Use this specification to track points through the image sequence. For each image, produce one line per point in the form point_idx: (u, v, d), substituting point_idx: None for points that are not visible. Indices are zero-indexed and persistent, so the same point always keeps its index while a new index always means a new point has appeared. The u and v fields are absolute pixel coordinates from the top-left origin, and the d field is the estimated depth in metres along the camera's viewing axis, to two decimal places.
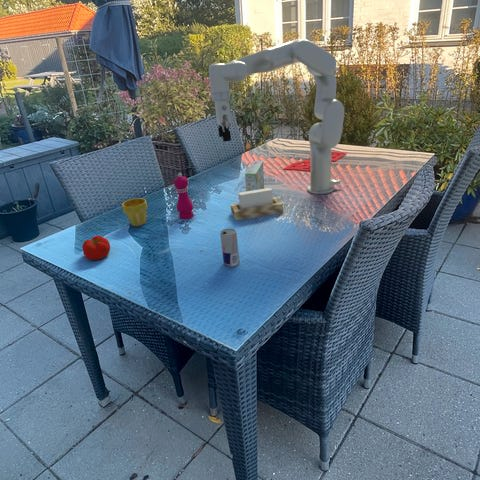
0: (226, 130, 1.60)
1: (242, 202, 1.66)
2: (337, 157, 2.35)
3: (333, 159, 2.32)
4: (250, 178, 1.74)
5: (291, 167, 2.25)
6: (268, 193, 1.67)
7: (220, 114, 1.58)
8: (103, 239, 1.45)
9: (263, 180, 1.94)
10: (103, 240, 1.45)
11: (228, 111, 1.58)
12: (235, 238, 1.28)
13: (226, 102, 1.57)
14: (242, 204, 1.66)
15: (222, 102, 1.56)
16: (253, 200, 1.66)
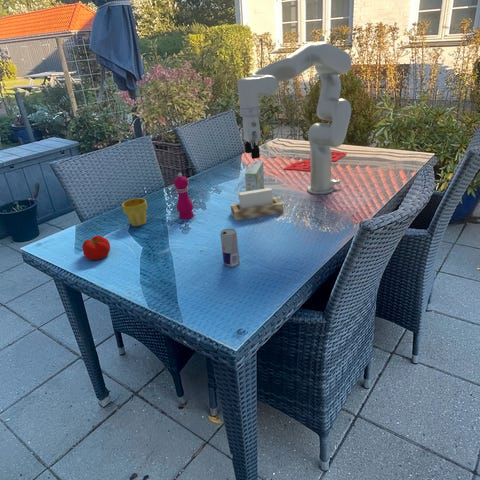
0: (255, 147, 1.52)
1: (242, 202, 1.66)
2: (337, 157, 2.35)
3: (333, 159, 2.32)
4: (250, 178, 1.74)
5: (291, 167, 2.25)
6: (268, 193, 1.67)
7: (249, 130, 1.50)
8: (103, 239, 1.45)
9: (263, 180, 1.94)
10: (103, 240, 1.45)
11: (258, 127, 1.50)
12: (235, 238, 1.28)
13: (256, 118, 1.49)
14: (242, 204, 1.66)
15: (252, 118, 1.49)
16: (253, 200, 1.66)
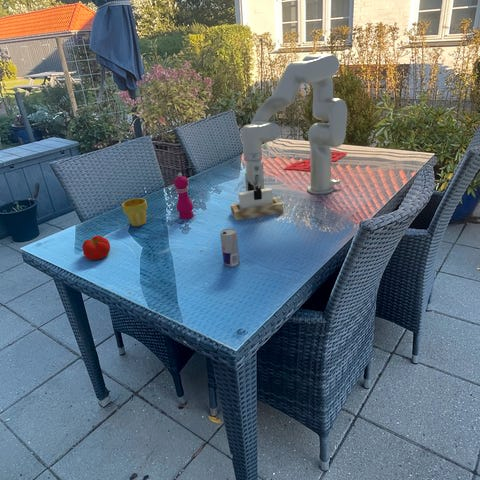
0: (258, 190, 1.60)
1: (242, 202, 1.66)
2: (337, 157, 2.35)
3: (333, 159, 2.32)
4: None
5: (291, 167, 2.24)
6: (268, 193, 1.67)
7: (252, 174, 1.58)
8: (103, 239, 1.45)
9: (263, 180, 1.94)
10: (103, 240, 1.45)
11: (260, 171, 1.58)
12: (235, 238, 1.28)
13: (259, 163, 1.57)
14: (242, 204, 1.66)
15: (255, 163, 1.57)
16: (253, 200, 1.66)
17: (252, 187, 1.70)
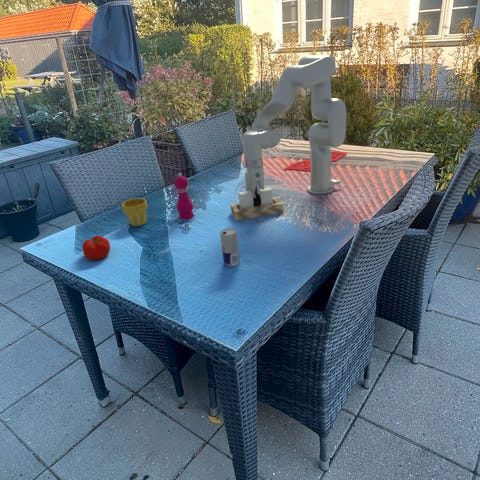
0: (257, 196, 1.64)
1: (242, 202, 1.66)
2: (337, 157, 2.35)
3: (333, 159, 2.32)
4: None
5: (291, 167, 2.24)
6: (268, 193, 1.67)
7: (253, 181, 1.59)
8: (103, 239, 1.45)
9: None
10: (103, 240, 1.45)
11: (261, 177, 1.59)
12: (235, 238, 1.28)
13: (259, 169, 1.58)
14: (242, 204, 1.66)
15: (255, 169, 1.58)
16: None
17: None
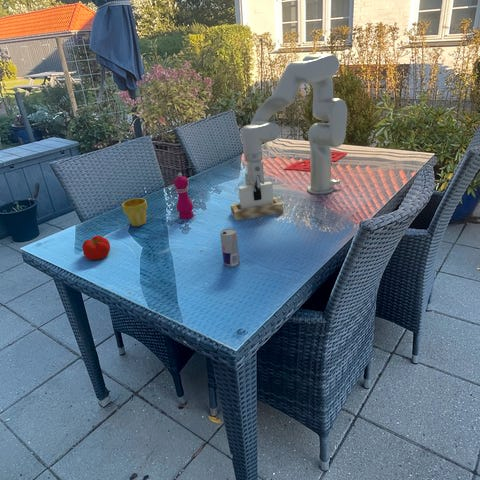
0: (257, 190, 1.63)
1: (242, 196, 1.65)
2: (337, 157, 2.35)
3: (333, 159, 2.32)
4: None
5: (291, 167, 2.24)
6: (268, 187, 1.66)
7: (253, 174, 1.58)
8: (103, 239, 1.45)
9: None
10: (103, 240, 1.45)
11: (261, 171, 1.58)
12: (235, 238, 1.28)
13: (259, 163, 1.57)
14: (242, 198, 1.65)
15: (255, 163, 1.57)
16: (253, 194, 1.65)
17: None
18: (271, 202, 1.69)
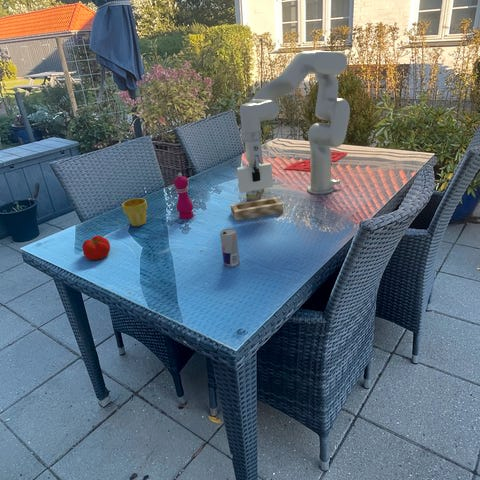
0: (256, 171, 1.59)
1: (240, 177, 1.61)
2: (338, 157, 2.35)
3: (334, 159, 2.32)
4: None
5: (292, 167, 2.24)
6: (267, 167, 1.62)
7: (252, 154, 1.55)
8: (103, 239, 1.45)
9: None
10: (103, 240, 1.45)
11: (260, 151, 1.55)
12: (235, 238, 1.28)
13: (258, 142, 1.53)
14: (240, 179, 1.61)
15: (254, 142, 1.53)
16: None
17: None
18: (270, 184, 1.65)
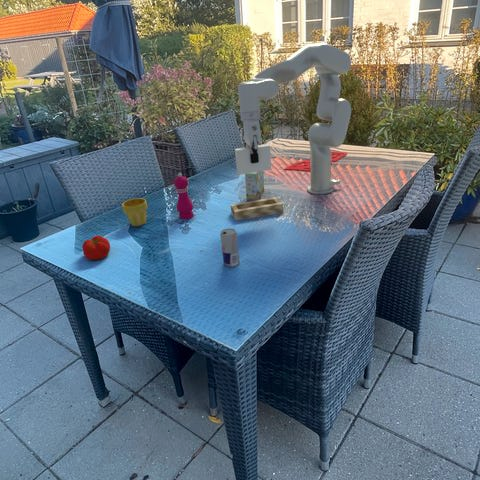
0: (254, 152, 1.56)
1: (238, 158, 1.57)
2: (338, 157, 2.35)
3: (334, 159, 2.31)
4: (250, 178, 1.74)
5: (292, 167, 2.24)
6: (266, 149, 1.58)
7: (250, 134, 1.51)
8: (103, 239, 1.45)
9: (263, 180, 1.94)
10: (103, 240, 1.45)
11: (258, 131, 1.51)
12: (235, 238, 1.28)
13: (256, 122, 1.50)
14: (238, 161, 1.58)
15: (252, 122, 1.50)
16: None
17: None
18: (269, 166, 1.62)
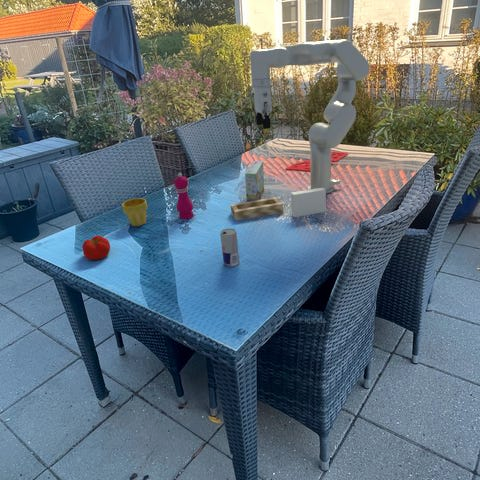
0: (267, 117, 1.58)
1: (295, 202, 1.61)
2: (339, 157, 2.34)
3: (335, 159, 2.31)
4: (250, 178, 1.74)
5: (293, 167, 2.24)
6: (322, 193, 1.62)
7: (261, 101, 1.57)
8: (103, 239, 1.45)
9: (263, 180, 1.94)
10: (103, 240, 1.45)
11: (269, 98, 1.57)
12: (235, 238, 1.28)
13: (267, 89, 1.55)
14: (295, 204, 1.61)
15: (263, 89, 1.55)
16: (306, 200, 1.61)
17: (260, 119, 1.69)
18: (323, 209, 1.65)
